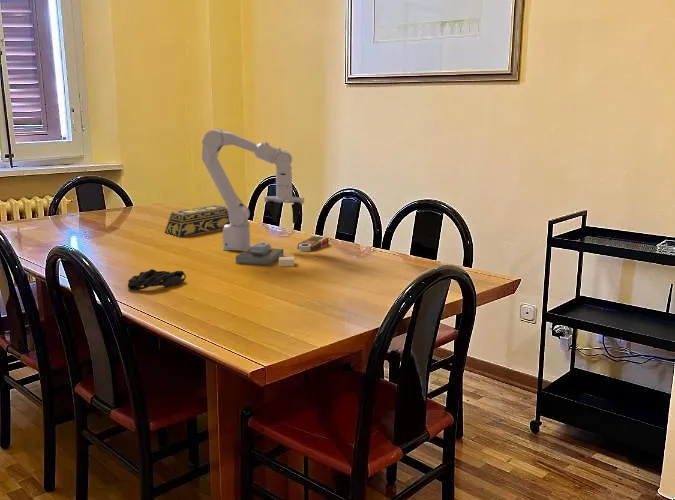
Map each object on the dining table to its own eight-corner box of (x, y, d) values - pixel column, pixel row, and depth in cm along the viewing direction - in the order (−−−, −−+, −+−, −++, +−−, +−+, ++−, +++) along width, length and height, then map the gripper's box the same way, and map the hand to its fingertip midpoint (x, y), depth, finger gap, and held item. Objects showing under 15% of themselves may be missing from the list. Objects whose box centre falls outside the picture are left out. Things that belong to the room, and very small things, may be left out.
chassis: (235, 263, 223) (235, 254, 222) (251, 253, 236) (251, 245, 235) (269, 265, 220) (269, 256, 219) (283, 255, 233) (283, 247, 232)
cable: (138, 295, 189) (137, 280, 188) (116, 285, 199) (115, 271, 198) (190, 283, 200) (190, 269, 199) (167, 274, 210) (166, 261, 209)
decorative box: (237, 227, 283) (236, 206, 281) (178, 238, 262) (177, 216, 260) (221, 223, 290) (221, 203, 288) (163, 234, 269) (161, 212, 267)
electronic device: (294, 244, 240) (313, 235, 253) (294, 252, 241) (313, 242, 254) (310, 246, 237) (329, 236, 250) (311, 254, 238) (329, 244, 251)
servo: (250, 261, 225) (250, 245, 224) (261, 255, 234) (260, 239, 232) (261, 262, 224) (261, 245, 223) (271, 256, 233) (271, 240, 231)
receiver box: (278, 266, 220) (278, 259, 219) (279, 263, 223) (279, 257, 222) (293, 266, 220) (293, 259, 219) (294, 263, 223) (294, 256, 223)
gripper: (261, 185, 236) (262, 223, 239) (299, 187, 232) (300, 225, 235) (268, 183, 242) (269, 219, 245) (305, 184, 239) (306, 221, 242)
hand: (284, 222), depth 241 cm, fingers open, 7 cm apart
